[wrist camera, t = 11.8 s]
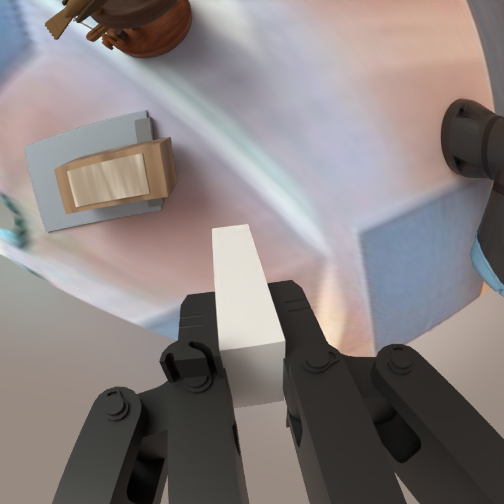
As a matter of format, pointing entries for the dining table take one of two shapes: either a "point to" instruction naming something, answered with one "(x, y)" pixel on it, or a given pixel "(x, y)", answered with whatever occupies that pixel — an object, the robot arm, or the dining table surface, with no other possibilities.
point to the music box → (129, 23)
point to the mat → (77, 145)
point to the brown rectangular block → (117, 176)
